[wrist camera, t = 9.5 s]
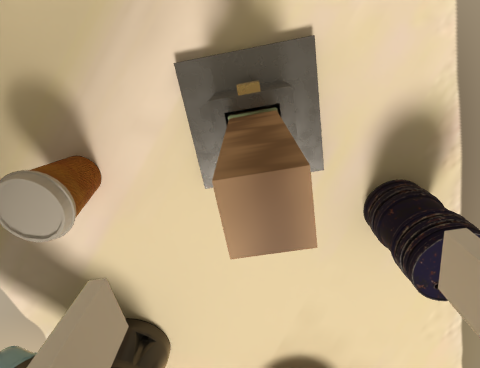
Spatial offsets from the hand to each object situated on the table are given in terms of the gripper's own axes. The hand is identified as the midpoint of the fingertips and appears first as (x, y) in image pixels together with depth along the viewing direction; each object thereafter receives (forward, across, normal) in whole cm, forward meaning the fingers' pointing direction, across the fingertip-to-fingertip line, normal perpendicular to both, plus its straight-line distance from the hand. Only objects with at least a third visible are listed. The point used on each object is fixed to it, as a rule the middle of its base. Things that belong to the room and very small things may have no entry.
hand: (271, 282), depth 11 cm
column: (+25, 0, 0) cm, 25 cm away
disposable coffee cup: (+33, +28, +4) cm, 43 cm away
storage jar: (+33, -20, +18) cm, 42 cm away
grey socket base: (+33, 0, 0) cm, 33 cm away
